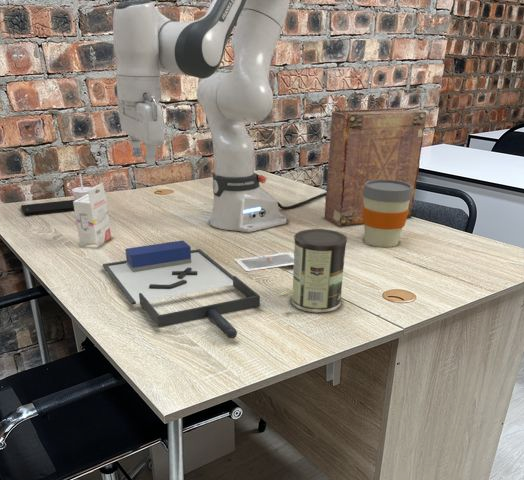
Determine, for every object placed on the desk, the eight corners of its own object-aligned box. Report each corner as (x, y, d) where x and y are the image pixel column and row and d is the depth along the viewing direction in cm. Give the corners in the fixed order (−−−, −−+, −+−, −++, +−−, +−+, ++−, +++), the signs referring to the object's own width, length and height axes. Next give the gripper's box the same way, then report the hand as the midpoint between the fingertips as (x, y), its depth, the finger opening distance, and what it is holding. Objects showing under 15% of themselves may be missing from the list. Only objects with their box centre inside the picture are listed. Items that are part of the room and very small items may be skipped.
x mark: (189, 269, 127) (189, 266, 127) (199, 274, 125) (199, 272, 124) (170, 274, 125) (170, 271, 124) (179, 279, 122) (179, 277, 122)
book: (393, 209, 177) (407, 107, 162) (411, 217, 170) (427, 111, 155) (323, 218, 168) (331, 110, 153) (339, 227, 161) (350, 115, 146)
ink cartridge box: (94, 236, 149) (86, 180, 142) (111, 238, 149) (105, 182, 141) (79, 247, 142) (70, 188, 135) (97, 248, 141) (89, 190, 134)
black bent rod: (185, 281, 121) (185, 279, 121) (189, 286, 119) (189, 283, 118) (148, 287, 118) (148, 284, 118) (151, 291, 116) (151, 289, 116)
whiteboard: (200, 255, 139) (199, 248, 138) (240, 288, 121) (240, 281, 120) (103, 270, 129) (102, 263, 128) (132, 309, 111) (131, 302, 110)
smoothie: (71, 225, 157) (64, 174, 150) (86, 219, 163) (79, 169, 156) (90, 228, 155) (83, 176, 148) (104, 222, 161) (98, 172, 154)
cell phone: (87, 208, 171) (86, 205, 171) (25, 215, 164) (24, 212, 163) (81, 201, 178) (80, 198, 178) (21, 208, 171) (20, 205, 170)
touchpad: (305, 267, 132) (305, 258, 131) (246, 275, 127) (246, 266, 126) (290, 256, 139) (291, 247, 138) (234, 264, 133) (234, 255, 132)
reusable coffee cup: (413, 241, 151) (422, 185, 143) (388, 252, 143) (396, 193, 135) (374, 231, 158) (380, 177, 151) (348, 241, 150) (354, 184, 142)
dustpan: (140, 308, 112) (138, 293, 110) (235, 290, 120) (234, 275, 119) (178, 358, 95) (177, 340, 94) (284, 332, 104) (285, 316, 102)
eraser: (183, 256, 135) (182, 240, 133) (191, 262, 131) (190, 246, 129) (126, 265, 129) (124, 248, 127) (133, 272, 125) (131, 255, 123)
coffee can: (329, 290, 122) (334, 226, 114) (348, 310, 113) (355, 243, 106) (284, 294, 119) (287, 230, 112) (300, 315, 110) (305, 247, 103)
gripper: (170, 96, 109) (173, 169, 115) (139, 87, 124) (143, 152, 131) (139, 96, 106) (143, 171, 113) (111, 87, 122) (117, 153, 128)
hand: (143, 160), depth 122 cm, fingers open, 8 cm apart
